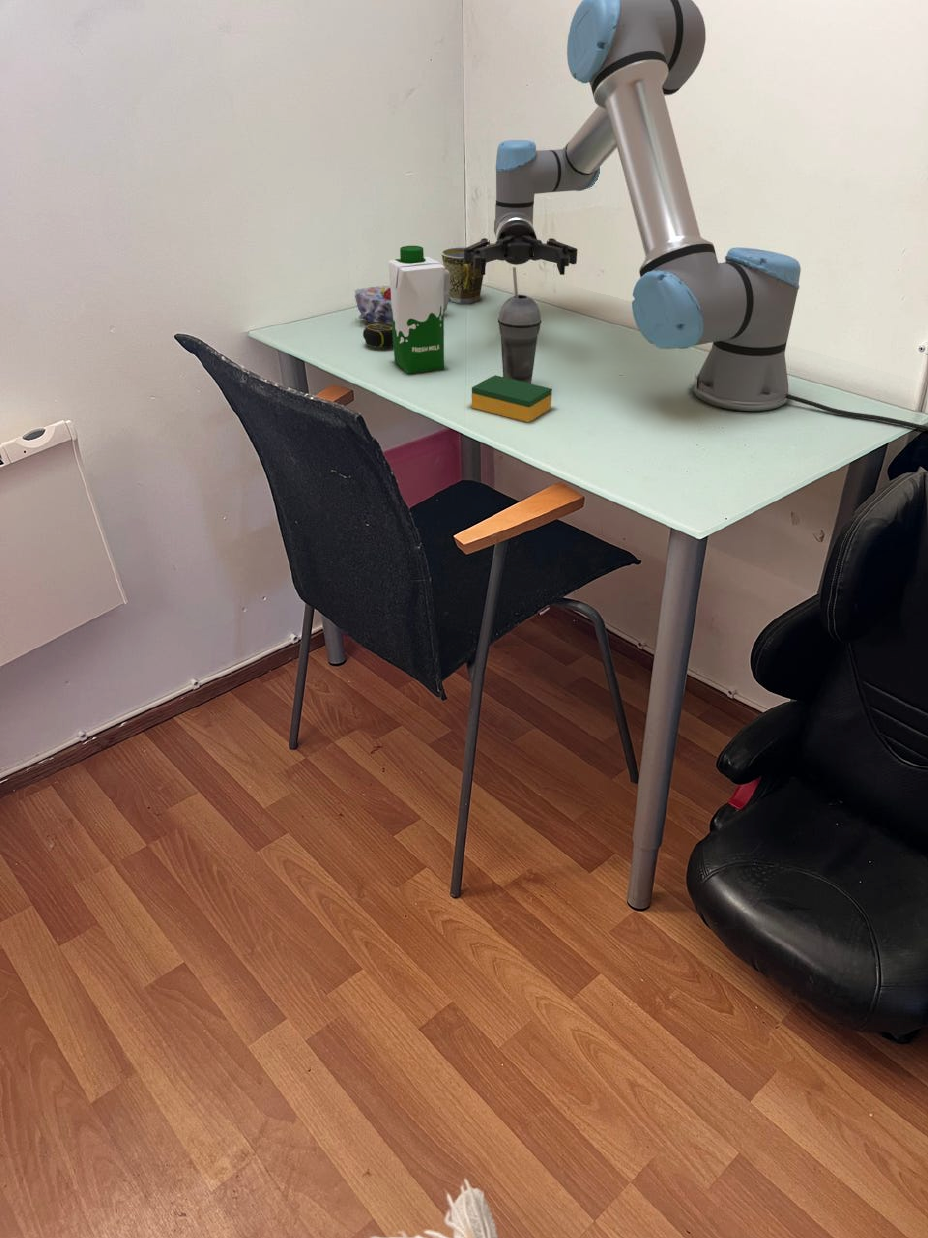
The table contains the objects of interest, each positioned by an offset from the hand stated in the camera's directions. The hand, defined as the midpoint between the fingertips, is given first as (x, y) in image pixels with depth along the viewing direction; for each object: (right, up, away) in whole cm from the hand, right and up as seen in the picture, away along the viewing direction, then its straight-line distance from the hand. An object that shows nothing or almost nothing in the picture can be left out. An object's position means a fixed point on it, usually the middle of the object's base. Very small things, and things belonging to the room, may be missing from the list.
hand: (523, 266), depth 156 cm
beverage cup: (-1, -21, +2) cm, 21 cm away
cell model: (-23, +2, +34) cm, 41 cm away
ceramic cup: (-10, +10, +46) cm, 48 cm away
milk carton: (-18, -14, +11) cm, 26 cm away
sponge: (-2, -26, -6) cm, 27 cm away
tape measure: (-26, -7, +21) cm, 34 cm away
